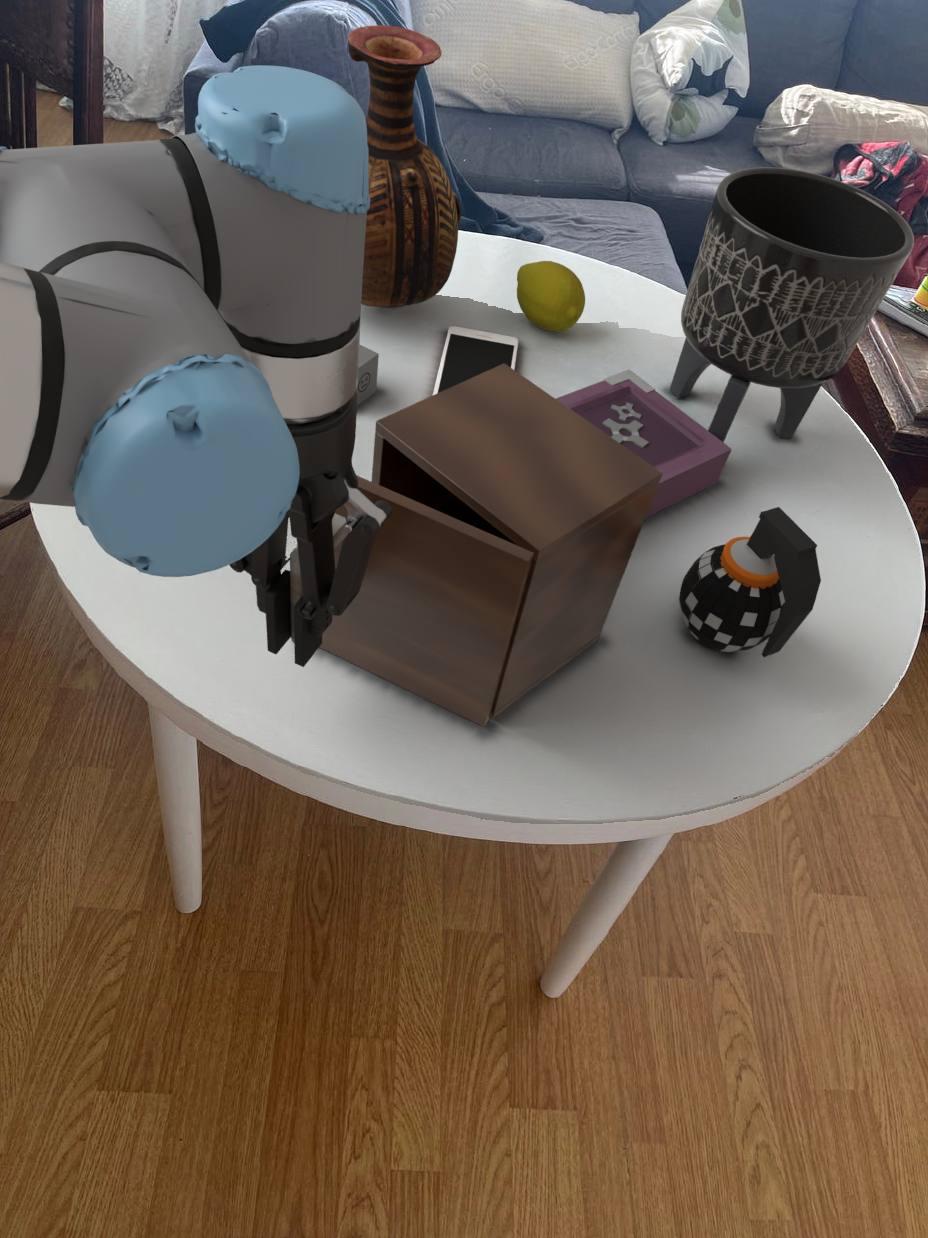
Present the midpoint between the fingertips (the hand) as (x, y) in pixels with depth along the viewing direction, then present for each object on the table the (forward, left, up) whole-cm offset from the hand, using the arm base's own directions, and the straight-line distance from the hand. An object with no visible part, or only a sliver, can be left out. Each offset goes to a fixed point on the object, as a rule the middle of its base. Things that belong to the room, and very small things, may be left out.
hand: (295, 646), depth 68 cm
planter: (+56, +29, -8) cm, 64 cm away
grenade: (+40, -1, -8) cm, 41 cm away
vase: (+21, +59, -8) cm, 63 cm away
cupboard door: (+7, -2, -7) cm, 10 cm away
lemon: (+42, +53, -8) cm, 68 cm away
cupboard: (+18, +6, -7) cm, 20 cm away
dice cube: (+13, +41, -8) cm, 44 cm away
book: (+36, +23, -8) cm, 44 cm away
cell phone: (+29, +42, -7) cm, 52 cm away
